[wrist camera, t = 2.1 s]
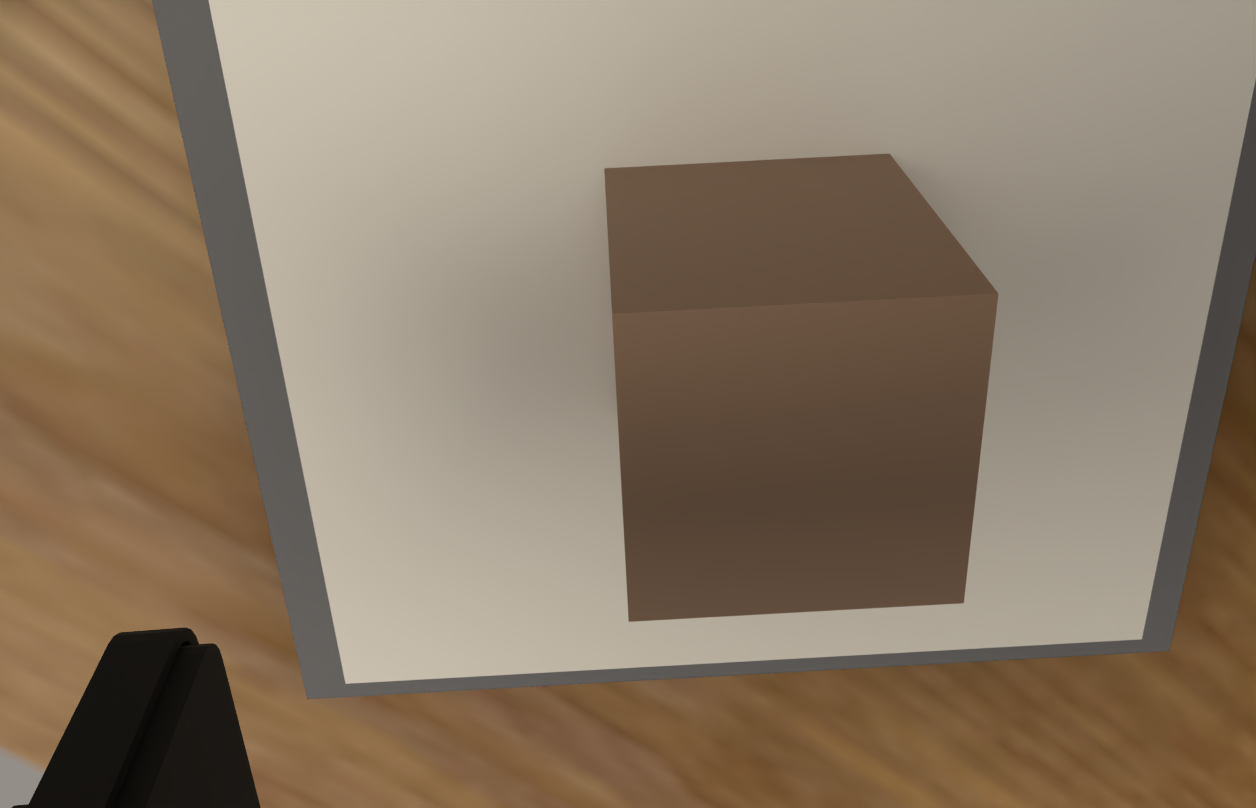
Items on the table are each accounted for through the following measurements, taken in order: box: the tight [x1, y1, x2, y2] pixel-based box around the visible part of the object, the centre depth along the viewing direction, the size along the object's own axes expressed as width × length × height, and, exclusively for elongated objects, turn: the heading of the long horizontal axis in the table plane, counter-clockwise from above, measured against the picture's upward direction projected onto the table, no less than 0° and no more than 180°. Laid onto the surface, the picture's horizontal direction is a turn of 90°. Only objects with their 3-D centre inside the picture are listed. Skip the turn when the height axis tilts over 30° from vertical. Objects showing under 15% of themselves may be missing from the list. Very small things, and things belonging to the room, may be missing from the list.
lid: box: [208, 0, 1256, 684], centre depth 16 cm, size 14×14×6 cm
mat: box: [152, 0, 1256, 699], centre depth 19 cm, size 16×16×1 cm
